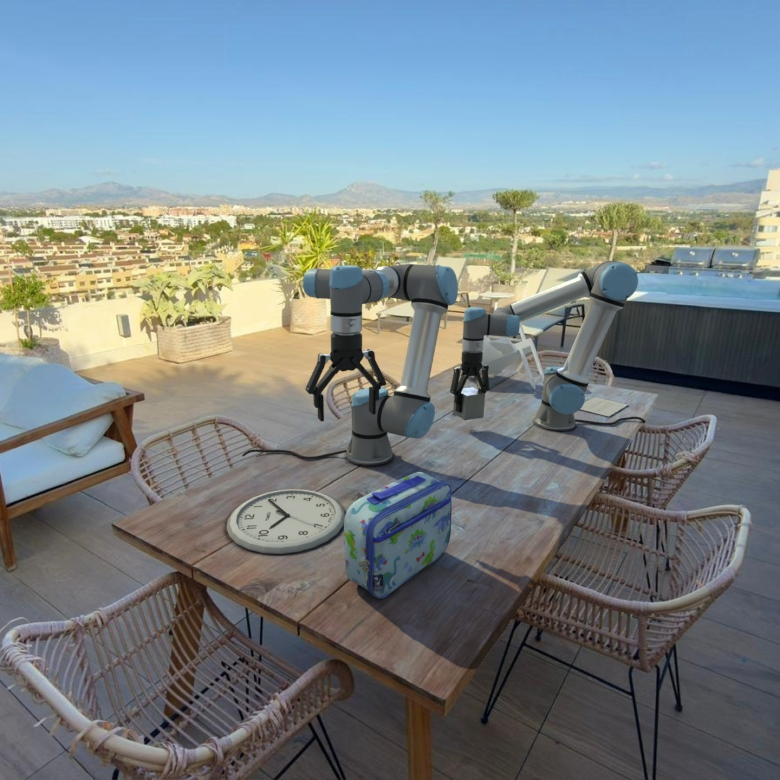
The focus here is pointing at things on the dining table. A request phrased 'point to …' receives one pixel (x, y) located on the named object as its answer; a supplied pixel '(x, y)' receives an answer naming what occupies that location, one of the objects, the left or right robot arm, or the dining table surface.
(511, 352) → the white plastic object
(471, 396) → the block
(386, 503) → the lunch box
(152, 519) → the dining table surface
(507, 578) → the dining table surface
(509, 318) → the right robot arm
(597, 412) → the invitation card
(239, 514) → the wall clock
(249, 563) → the dining table surface
